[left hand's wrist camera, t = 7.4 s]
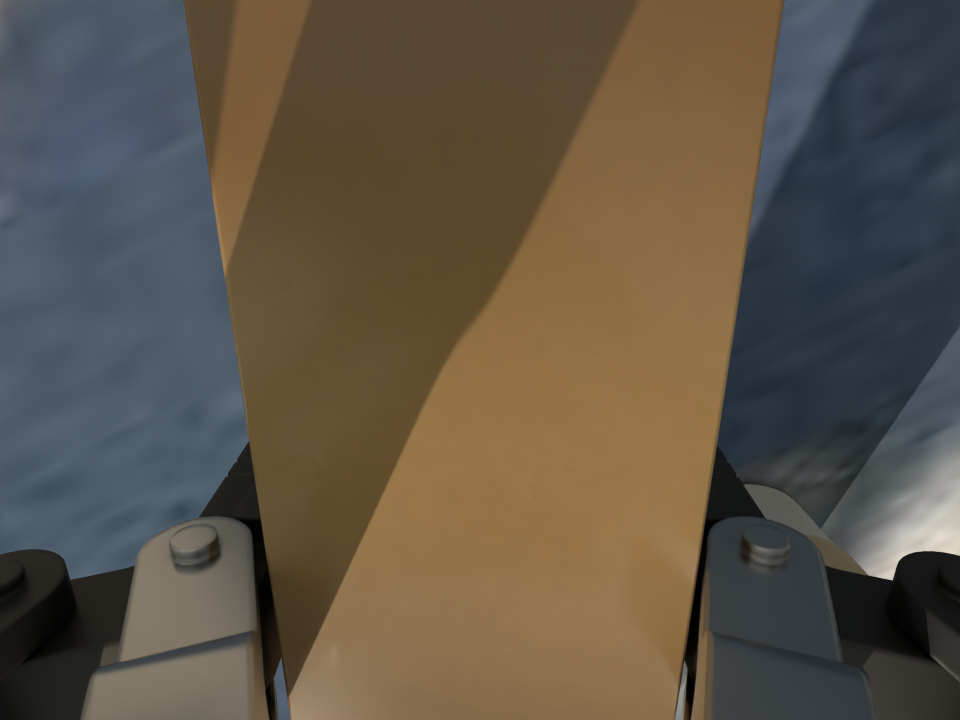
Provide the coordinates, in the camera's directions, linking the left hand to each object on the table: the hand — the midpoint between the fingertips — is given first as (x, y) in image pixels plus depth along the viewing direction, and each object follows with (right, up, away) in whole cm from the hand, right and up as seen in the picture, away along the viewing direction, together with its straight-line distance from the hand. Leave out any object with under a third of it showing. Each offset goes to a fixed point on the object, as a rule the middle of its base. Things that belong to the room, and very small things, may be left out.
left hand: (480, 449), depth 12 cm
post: (0, +24, -6) cm, 24 cm away
